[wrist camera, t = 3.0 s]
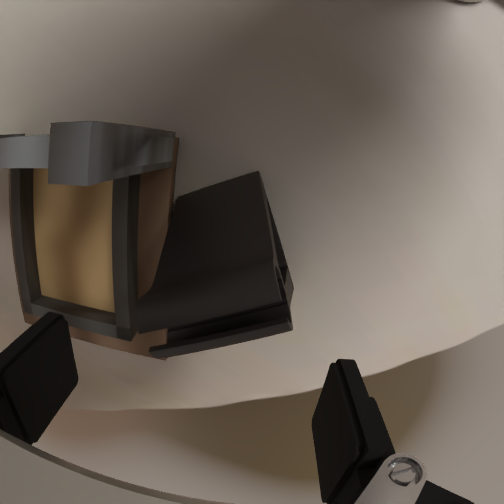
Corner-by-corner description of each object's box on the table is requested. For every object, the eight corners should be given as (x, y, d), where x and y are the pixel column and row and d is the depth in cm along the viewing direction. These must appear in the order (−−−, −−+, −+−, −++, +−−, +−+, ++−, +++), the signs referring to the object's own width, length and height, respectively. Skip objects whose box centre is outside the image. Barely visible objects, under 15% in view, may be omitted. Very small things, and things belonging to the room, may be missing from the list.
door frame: (179, 133, 21) (91, 120, 10) (168, 353, 27) (122, 458, 15) (17, 134, 21) (-87, 145, 10) (30, 317, 27) (-40, 381, 16)
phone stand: (293, 286, 24) (310, 396, 13) (219, 305, 25) (185, 416, 14) (259, 170, 22) (249, 191, 10) (179, 195, 22) (97, 242, 11)
